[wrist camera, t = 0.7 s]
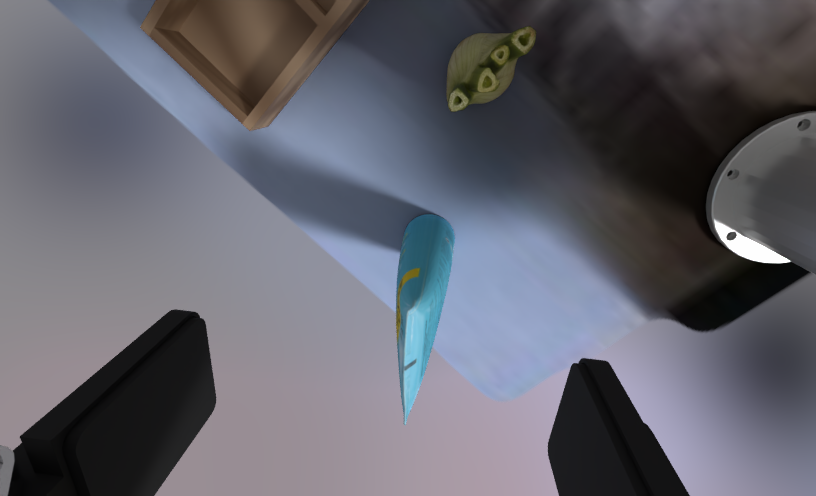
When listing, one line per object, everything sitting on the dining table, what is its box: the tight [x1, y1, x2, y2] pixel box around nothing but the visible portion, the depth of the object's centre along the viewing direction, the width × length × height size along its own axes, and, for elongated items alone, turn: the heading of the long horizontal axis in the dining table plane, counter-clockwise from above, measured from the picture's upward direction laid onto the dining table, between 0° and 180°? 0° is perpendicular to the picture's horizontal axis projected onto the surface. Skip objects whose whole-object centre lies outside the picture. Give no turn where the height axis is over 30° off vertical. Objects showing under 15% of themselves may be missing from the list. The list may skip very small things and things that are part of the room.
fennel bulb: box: [446, 26, 536, 112], centre depth 27 cm, size 6×5×12 cm
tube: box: [396, 214, 455, 425], centre depth 30 cm, size 7×5×19 cm, turn 3°
